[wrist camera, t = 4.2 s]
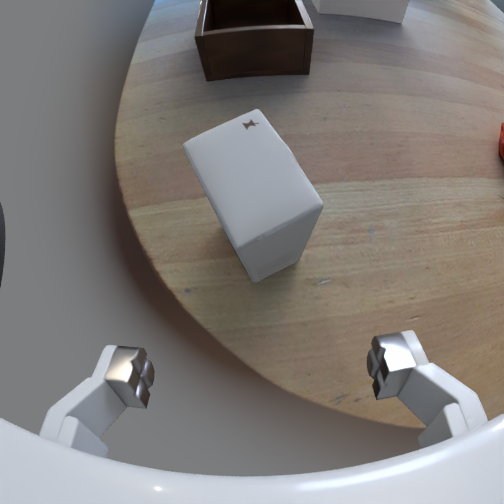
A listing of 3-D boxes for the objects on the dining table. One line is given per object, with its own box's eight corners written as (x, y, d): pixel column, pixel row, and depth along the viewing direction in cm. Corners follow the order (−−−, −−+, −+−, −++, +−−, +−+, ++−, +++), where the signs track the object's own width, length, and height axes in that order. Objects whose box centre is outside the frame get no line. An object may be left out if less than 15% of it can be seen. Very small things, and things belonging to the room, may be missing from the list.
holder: (206, 81, 28) (194, 36, 22) (211, 25, 32) (203, -11, 25) (309, 74, 28) (314, 28, 21) (292, 19, 31) (293, -18, 25)
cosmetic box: (220, 222, 24) (178, 140, 13) (265, 199, 25) (259, 104, 13) (253, 287, 23) (235, 251, 11) (301, 262, 23) (329, 202, 11)
